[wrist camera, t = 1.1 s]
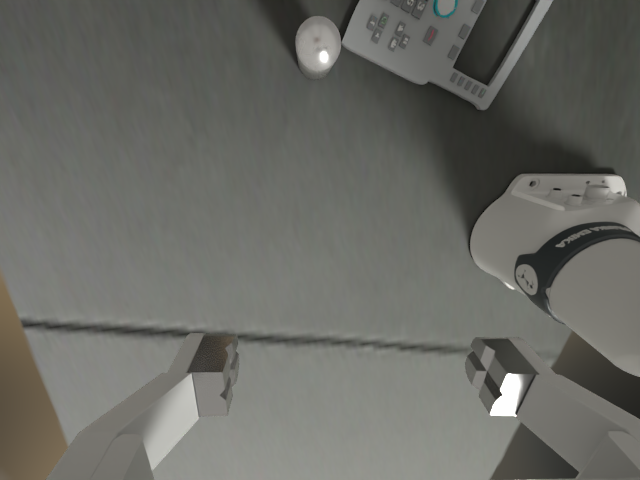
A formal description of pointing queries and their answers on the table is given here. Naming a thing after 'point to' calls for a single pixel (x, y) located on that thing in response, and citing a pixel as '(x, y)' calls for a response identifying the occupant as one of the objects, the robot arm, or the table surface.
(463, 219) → the table surface
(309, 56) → the peg
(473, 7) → the office telephone
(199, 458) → the table surface
